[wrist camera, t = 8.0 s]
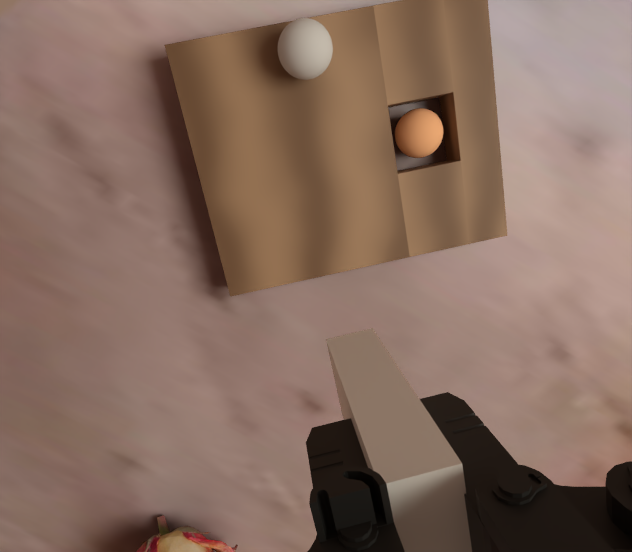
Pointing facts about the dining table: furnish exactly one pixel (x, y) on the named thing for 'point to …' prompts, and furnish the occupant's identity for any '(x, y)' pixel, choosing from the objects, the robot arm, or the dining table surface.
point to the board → (342, 142)
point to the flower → (181, 541)
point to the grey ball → (305, 48)
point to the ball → (419, 133)
